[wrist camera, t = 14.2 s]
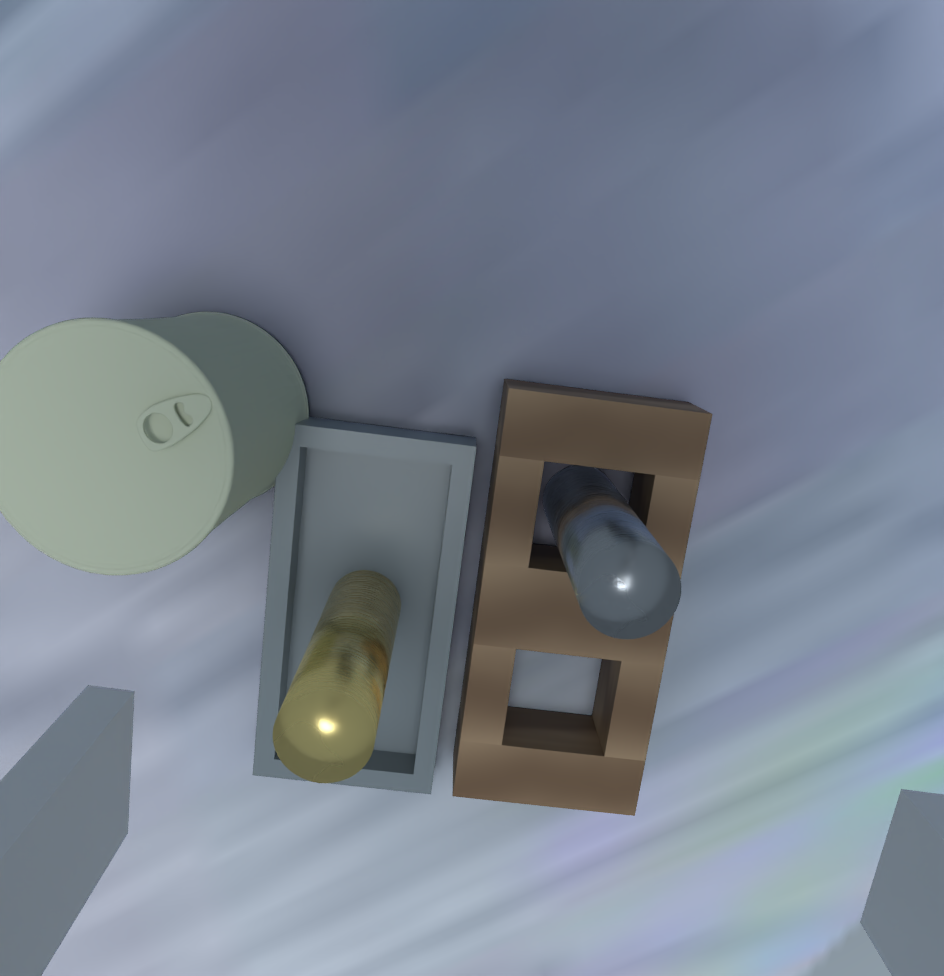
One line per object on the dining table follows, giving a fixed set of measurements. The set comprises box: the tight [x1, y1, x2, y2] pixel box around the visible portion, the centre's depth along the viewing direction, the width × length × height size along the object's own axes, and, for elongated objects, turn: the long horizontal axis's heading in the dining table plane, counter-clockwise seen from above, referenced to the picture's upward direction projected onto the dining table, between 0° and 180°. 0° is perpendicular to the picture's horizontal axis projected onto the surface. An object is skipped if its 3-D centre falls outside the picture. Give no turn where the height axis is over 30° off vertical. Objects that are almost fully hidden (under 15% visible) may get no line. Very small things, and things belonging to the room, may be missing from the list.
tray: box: [253, 417, 477, 794], centre depth 42 cm, size 18×9×2 cm, turn 173°
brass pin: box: [273, 570, 401, 783], centre depth 36 cm, size 4×4×13 cm
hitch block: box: [453, 379, 712, 816], centre depth 41 cm, size 20×9×4 cm, turn 173°
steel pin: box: [543, 465, 681, 639], centre depth 36 cm, size 4×4×13 cm
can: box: [0, 312, 309, 575], centre depth 35 cm, size 9×9×12 cm
